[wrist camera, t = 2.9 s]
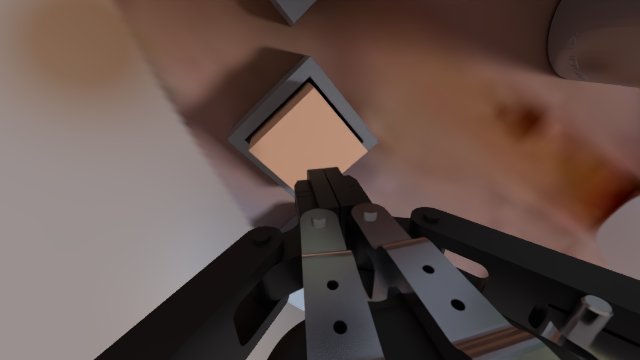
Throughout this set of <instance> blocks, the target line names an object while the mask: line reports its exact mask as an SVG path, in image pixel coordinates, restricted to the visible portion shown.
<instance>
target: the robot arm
mask: <svg viewBox="0 0 640 360" xmlns="http://www.w3.org/2000/svg"><path fill="white" fill-rule="evenodd" d="M548 55H549V61H550V63H551V65H552V67H553V69H554V71H555V72H556V73H557V74H558V75H559V76H561V77H563V78H565V79H569V80H576V81H585V82H594V83H603V84H612V85H621V86H627V87H637V88H640V0H561V2H560V4H559V6H558V7H557V10H556V12H555V15H554V18H553V20H552V23H551V27H550V32H549V37H548ZM294 192H295V205H296V215H297V221H298V224H297V225H296V226H295V227H294V228H292V229H291V230H289V231H286V232H284V233H281V231H280V230H278V229H277V228H274V227H269V226H264V227H258V228H255V229H252V230H250V231H248V232H247V233H246V234H245V235H243V236H242V237H241V238H240V239H239V240H237V241H236V242H235V243H234V244H233V245H231V246H230V247H229V248H228V249H226V250H225V251H224V252H223V253H222V254H221V255H220V256H218V257H217V258H216V259H214V260H213V261H212V262H211V263H210V264H208V265H207V266H206V267H205V268H204V269H202V270H201V271H200V272H199V273H198V274H196V275H195V276H194V277H193V278H192V279H190V280H189V281H188V282H187V283H186V284H184V285H183V286H182V287H181V288H180V289H178V290H177V291H176V292H175V293H174V294H172V295H171V296H170V297H169V298H168V299H166V300H165V301H164V302H163V303H162V304H160V305H159V306H158V307H157V308H156V309H154V310H153V311H152V312H151V313H149V314H148V315H147V316H146V317H145V318H144V319H142V320H141V321H140V322H139V323H138V324H136V325H135V326H134V327H133V328H131V329H130V330H129V331H128V332H127V333H126V334H124V335H123V336H122V337H121V338H119V339H118V340H117V341H116V342H115V343H113V345H111V346H110V347H109V348H107V349H106V350H105V351H104V352H103V353H102V354H100V355H99V356H98V357H97V358H95V359H94V360H246V359H247V357H248V356H249V354H250V353H251V352H252V350H253V349H254V348H255V346H256V345H257V343H258V342H259V341H260V339H261V338H262V336H263V335H264V334H265V332H266V331H267V330H268V328H269V327H270V325H271V324H272V322H273V321H274V320H275V319H276V317H277V316H278V314H279V313H280V312H281V310H282V309H283V307H284V306H285V305H286V303H287V302H288V299H289V295H290V294H292V293H294V292H296V291H298V290H300V289H302V288H304V306H305V320H303V321H302V322H300V323H298V324H297V325H296V326H295V327H293V328H292V329H291V330H289V331H288V332H287V333H286V334H285V335H284V336H283V337H282V338H281V340H280V341H279V342H278V343H277V345H276V346H275V348H274V349H273V351H272V352H271V354H270V356H269V357H268V359H267V360H640V280H637V279H634V278H631V277H629V276H626V275H623V274H620V273H617V272H614V271H612V270H609V269H606V268H603V267H600V266H597V265H595V264H592V263H589V262H586V261H583V260H580V259H577V258H575V257H572V256H569V255H566V254H563V253H560V252H558V251H555V250H552V249H549V248H546V247H543V246H541V245H538V244H535V243H532V242H529V241H526V240H523V239H521V238H518V237H515V236H512V235H509V234H506V233H504V232H501V231H498V230H495V229H492V228H489V227H487V226H484V225H481V224H478V223H475V222H472V221H469V220H467V219H464V218H461V217H458V216H455V215H452V214H450V213H447V212H444V211H441V210H438V209H435V208H430V207H420V208H416V209H414V210H413V211H412V213H411V217H410V218H401V217H392V216H391V215H390V213H389V212H388V211H387V210H386V209H385V208H384V207H382V206H380V205H377V204H373V203H372V202H371V201H370V199H369V198H368V196H367V195H366V193H365V192H364V191H363V189H362V187H361V186H360V184H359V183H358V181H357V180H356V179H355V178H353V177H351V176H350V175H347V176H343V175H342V173H341V171H340V170H339V168H338V167H329V168H323V169H322V168H319V169H308V170H307V180H297V182H296V184H295V185H294ZM445 249H447V250H449V251H451V252H453V253H456V254H458V255H460V256H463V257H465V258H467V259H470V260H472V261H474V262H476V263H479V264H481V265H482V266H483V267H485V268H486V270H487V271H488V274H489V276H488V277H486V278H479V277H476V276H474V275H472V274H470V273H468V272H465V271H463V270H461V269H459V268H457V267H455V266H454V265H453V264H452V263H451V262H450V261H449V260H448V259H447V258H446V257H445V256H444V252H445Z"/></svg>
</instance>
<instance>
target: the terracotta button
mask: <svg viewBox="0 0 640 360" xmlns="http://www.w3.org/2000/svg"><path fill="white" fill-rule="evenodd" d="M249 151H250V152H251V153H252V154H253V155H254V156H255V157H256V158H258V159H259V160H260V161H261V162H262V163H263V164H264V165H266V166H267V167H268V168H269V169H270V170H271V171H272V172H274V173H275V174H276V175H277V176H278V177H279V178H280V179H282V180H283V181H284V182H285V183H286V184H287V185H289V186H290V187H291V188H292V189H293V190H294V185H295V184H296V182H297V180H307V170H308V169H319V168H322V169H323V168H329V167H338V168H339V170H340V171H341V173H343V172H344V171H345V170H347V169H348V168H349V167H350V166H351V165H352V164H354V163H355V162H356V161H357V160H358V159H359V158H361V157H362V156H363V155H364V154H365V153H367V152H368V151H367V150H366V148H365V147H364V146H363V145H362V144H361V142H360V141H359V140H358V139H357V138H356V137H355V135H354V134H353V133H352V132H351V131H350V129H349V128H348V127H347V126H346V125H345V123H344V122H343V121H342V120H341V119H340V118H339V116H338V115H337V114H336V113H335V112H334V110H333V109H332V108H331V107H330V106H329V104H328V103H327V102H326V101H325V100H324V98H323V97H322V96H321V95H320V94H319V93H318V91H317V90H316V89H315V88H314V87H313V86H312V85H311V84H310V83H309V82H307V83H306V84H304V85H303V86H302V87H301V88H300V89H299V90H298V91H297V92H296V93H295V94H294V95H293V96H292V97H291V98H290V99H289V100H288V101H287V102H286V103H285V104H284V105H283V106H282V107H281V108H280V109H279V110H278V111H277V112H276V113H275V114H274V115H273V116H271V117H270V118H269V119H268V120H267V121H266V122H265V123H264V124H263V125H262V126H261V127H260V128H259V129H258V130H257V131H256V132H255V133H254V134H253V135H252V136H251V141H250V146H249Z"/></svg>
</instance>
